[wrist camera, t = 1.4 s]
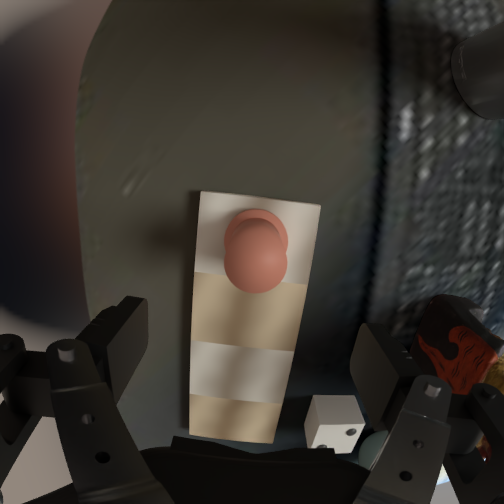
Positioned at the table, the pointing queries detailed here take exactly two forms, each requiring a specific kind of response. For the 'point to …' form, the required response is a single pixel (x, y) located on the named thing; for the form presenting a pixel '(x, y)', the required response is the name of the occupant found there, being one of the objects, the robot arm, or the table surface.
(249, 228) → the pawn
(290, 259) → the board
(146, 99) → the table surface
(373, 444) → the cup
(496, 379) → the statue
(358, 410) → the die
